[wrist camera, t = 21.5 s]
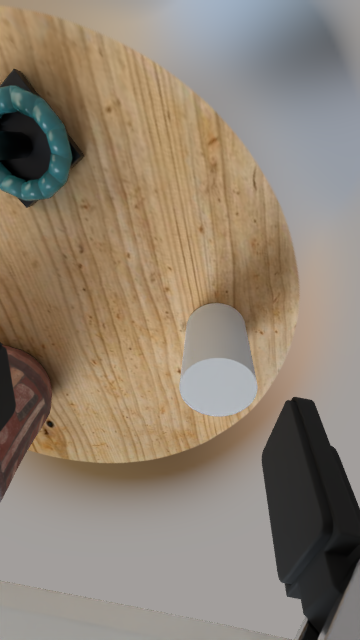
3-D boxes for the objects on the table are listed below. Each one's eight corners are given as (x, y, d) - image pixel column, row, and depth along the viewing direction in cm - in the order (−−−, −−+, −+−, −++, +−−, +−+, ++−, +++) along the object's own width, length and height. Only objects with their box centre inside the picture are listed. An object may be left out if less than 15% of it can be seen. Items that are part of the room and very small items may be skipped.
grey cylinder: (179, 343, 44) (170, 404, 34) (198, 295, 40) (194, 347, 30) (231, 359, 45) (238, 424, 35) (255, 314, 41) (271, 372, 31)
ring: (18, 61, 29) (6, 56, 27) (93, 158, 32) (87, 159, 30) (-40, 136, 32) (-55, 136, 30) (33, 216, 36) (24, 220, 34)
